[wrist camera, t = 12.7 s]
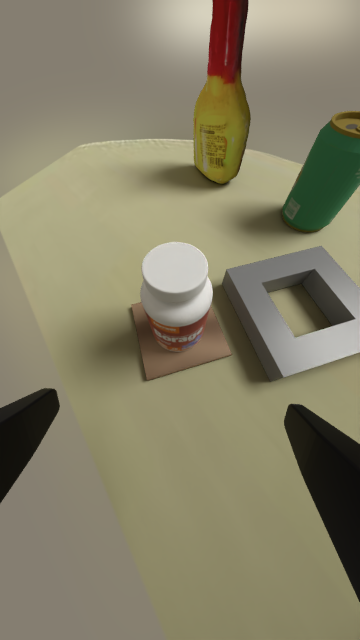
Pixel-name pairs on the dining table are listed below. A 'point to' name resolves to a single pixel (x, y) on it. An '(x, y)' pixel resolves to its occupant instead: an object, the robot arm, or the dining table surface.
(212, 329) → the pad
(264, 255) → the dining table surface
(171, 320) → the pill bottle
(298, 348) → the holder
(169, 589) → the dining table surface
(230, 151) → the bottle
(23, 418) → the robot arm
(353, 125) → the beverage can
